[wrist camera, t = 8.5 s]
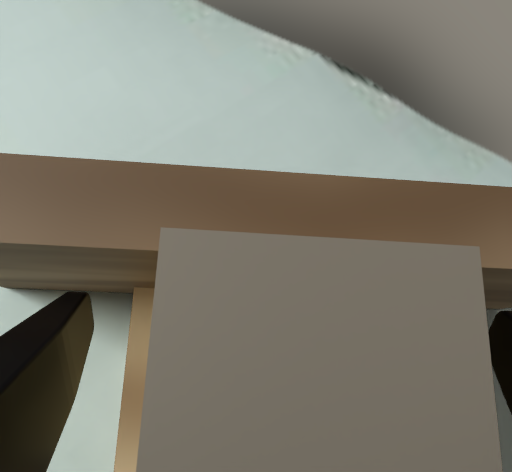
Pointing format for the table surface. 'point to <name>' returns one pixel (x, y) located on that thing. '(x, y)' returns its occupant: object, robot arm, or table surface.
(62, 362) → the robot arm
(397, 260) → the grey-topped square block
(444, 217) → the wall board
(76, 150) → the table surface
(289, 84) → the table surface
